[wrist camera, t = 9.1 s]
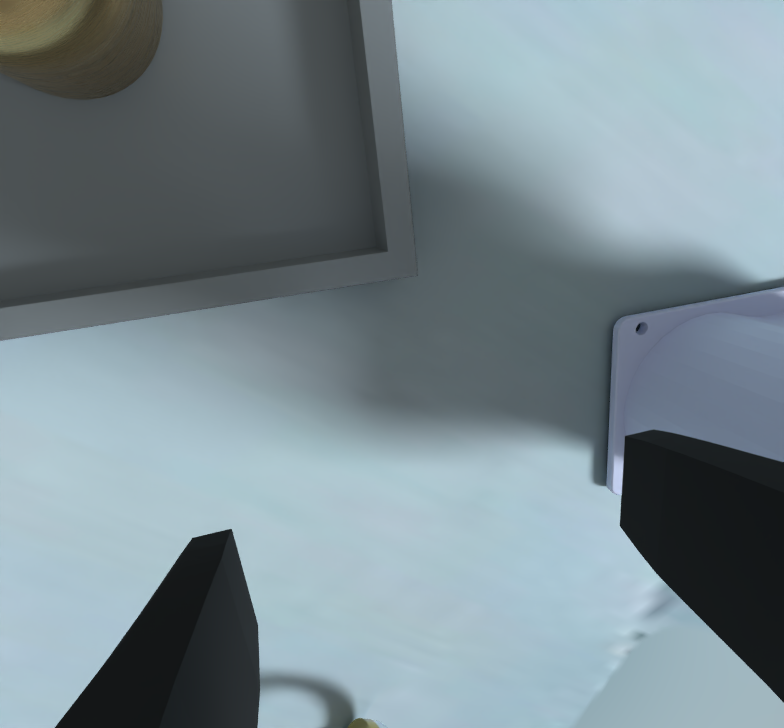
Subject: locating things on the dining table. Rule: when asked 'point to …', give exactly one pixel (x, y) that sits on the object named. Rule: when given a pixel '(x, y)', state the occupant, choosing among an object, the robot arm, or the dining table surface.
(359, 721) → the ring
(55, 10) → the brass short cylinder
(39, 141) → the tray
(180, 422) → the dining table surface
